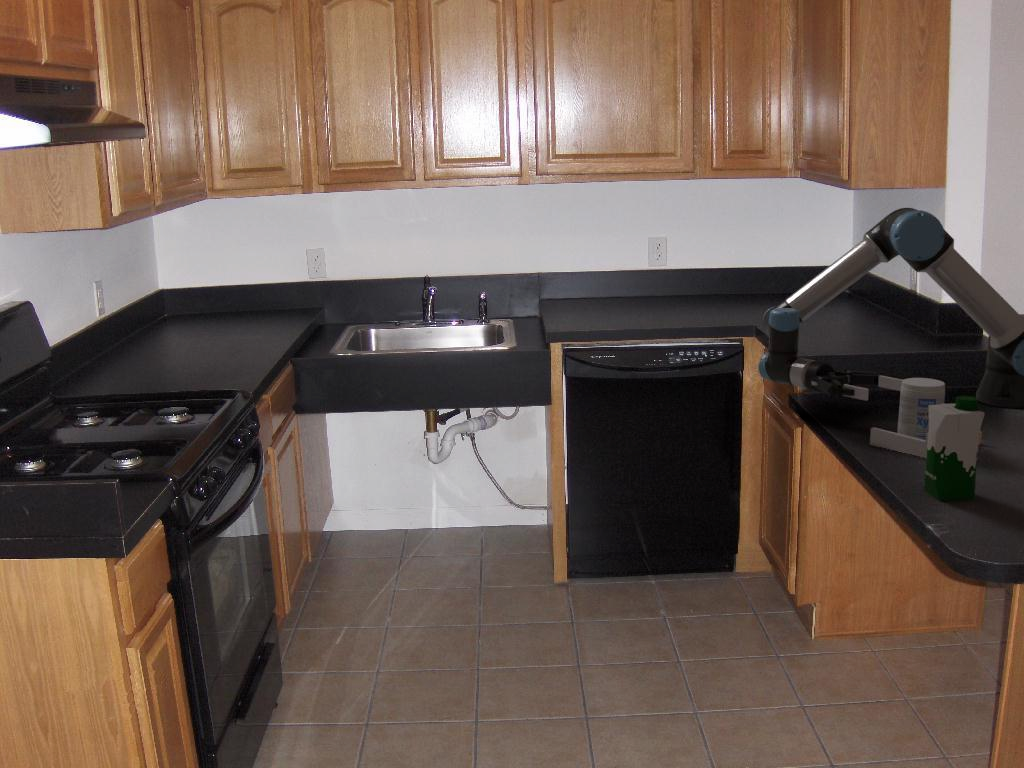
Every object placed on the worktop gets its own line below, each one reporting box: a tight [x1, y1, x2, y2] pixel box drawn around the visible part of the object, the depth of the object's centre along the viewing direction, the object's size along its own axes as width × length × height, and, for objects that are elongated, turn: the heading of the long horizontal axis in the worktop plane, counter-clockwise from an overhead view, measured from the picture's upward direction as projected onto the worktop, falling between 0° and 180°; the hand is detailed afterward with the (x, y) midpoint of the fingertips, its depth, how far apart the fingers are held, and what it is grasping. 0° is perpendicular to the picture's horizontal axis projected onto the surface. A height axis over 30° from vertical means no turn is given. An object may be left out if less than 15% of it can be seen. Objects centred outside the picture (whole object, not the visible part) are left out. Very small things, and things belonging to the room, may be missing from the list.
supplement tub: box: [896, 377, 946, 440], centre depth 239 cm, size 10×10×15 cm
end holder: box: [869, 426, 928, 458], centre depth 240 cm, size 15×15×6 cm
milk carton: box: [923, 395, 985, 502], centre depth 207 cm, size 9×9×20 cm
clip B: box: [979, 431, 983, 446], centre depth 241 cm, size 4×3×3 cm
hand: (885, 390), depth 246 cm, fingers open, 13 cm apart
